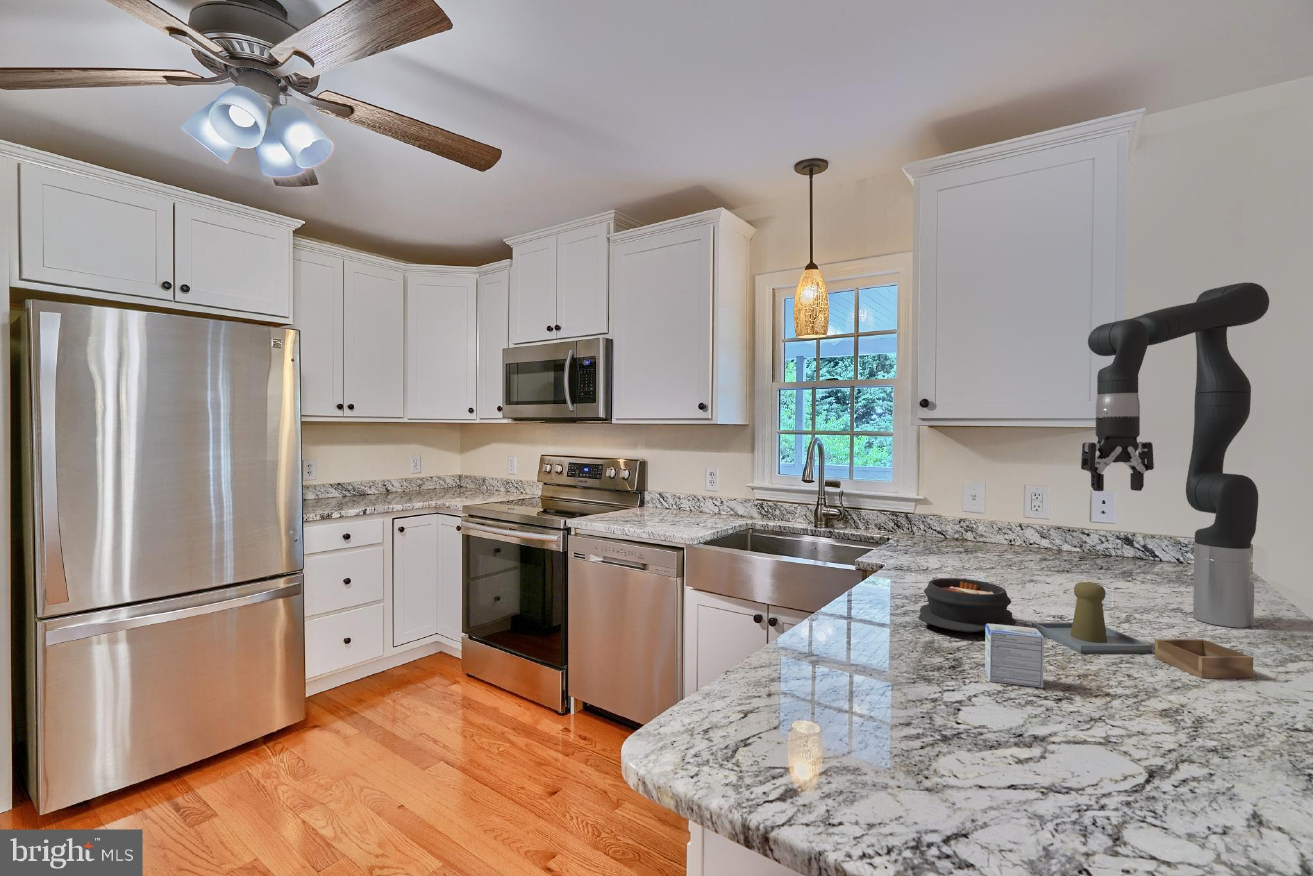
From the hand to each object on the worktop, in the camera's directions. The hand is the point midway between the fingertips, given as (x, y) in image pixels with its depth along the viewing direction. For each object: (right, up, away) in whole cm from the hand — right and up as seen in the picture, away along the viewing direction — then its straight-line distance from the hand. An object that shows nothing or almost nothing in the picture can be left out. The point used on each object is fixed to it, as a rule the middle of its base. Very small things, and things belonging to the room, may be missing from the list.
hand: (1117, 490), depth 130 cm
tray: (-12, -30, -8) cm, 33 cm away
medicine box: (-39, -30, -28) cm, 57 cm away
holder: (-1, -30, -22) cm, 37 cm away
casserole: (-31, -30, +2) cm, 43 cm away
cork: (-12, -29, -8) cm, 32 cm away
